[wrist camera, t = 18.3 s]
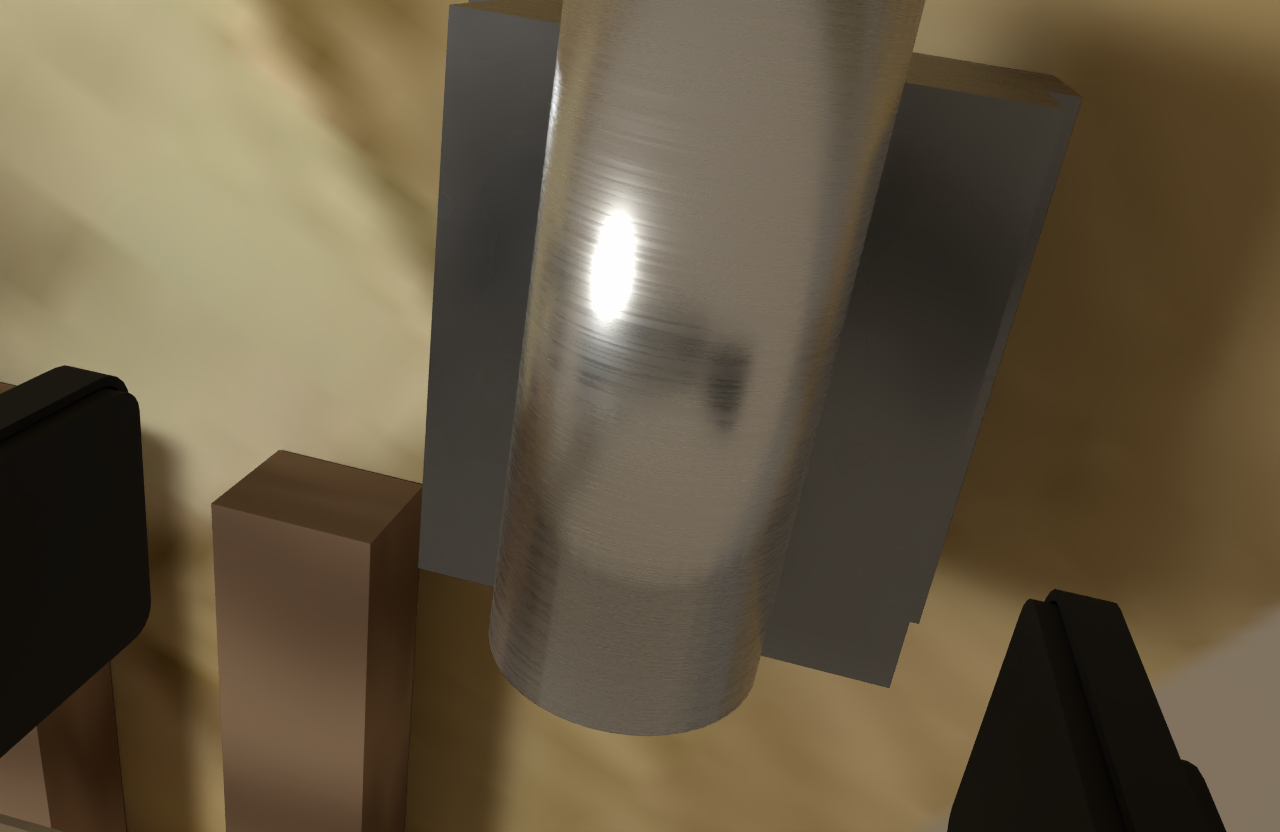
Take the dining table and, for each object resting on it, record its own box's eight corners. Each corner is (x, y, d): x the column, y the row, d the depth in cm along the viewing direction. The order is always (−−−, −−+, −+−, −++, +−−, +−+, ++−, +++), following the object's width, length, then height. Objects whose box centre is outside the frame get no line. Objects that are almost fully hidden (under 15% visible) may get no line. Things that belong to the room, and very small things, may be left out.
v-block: (915, 538, 21) (920, 695, 16) (492, 439, 22) (390, 560, 18) (1053, 75, 17) (1108, 117, 13) (531, -12, 18) (413, -2, 14)
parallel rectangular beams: (393, 1012, 31) (352, 1098, 28) (35, 897, 32) (-31, 969, 30) (423, 485, 23) (370, 543, 21) (-48, 371, 25) (-146, 413, 22)
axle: (811, 674, 15) (602, 777, 13) (638, 543, 18) (436, 607, 16) (1014, -55, 11) (768, -117, 9) (754, -88, 14) (506, -143, 11)
